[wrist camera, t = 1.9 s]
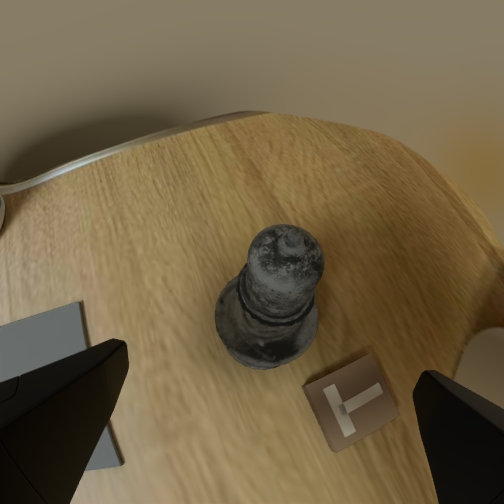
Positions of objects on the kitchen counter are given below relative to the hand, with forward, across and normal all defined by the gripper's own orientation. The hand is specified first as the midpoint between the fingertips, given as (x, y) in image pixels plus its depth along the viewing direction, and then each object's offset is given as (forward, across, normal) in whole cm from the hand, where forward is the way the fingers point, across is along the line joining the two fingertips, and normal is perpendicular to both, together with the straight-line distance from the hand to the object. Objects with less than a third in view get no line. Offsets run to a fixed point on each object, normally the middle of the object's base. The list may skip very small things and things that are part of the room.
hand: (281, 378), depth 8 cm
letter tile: (+8, -6, +8) cm, 13 cm away
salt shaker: (+11, 0, +5) cm, 12 cm away
